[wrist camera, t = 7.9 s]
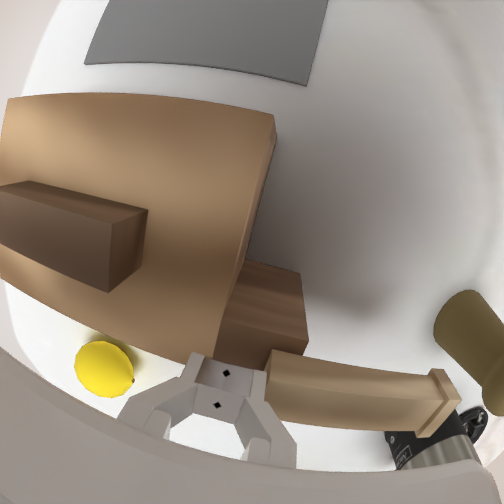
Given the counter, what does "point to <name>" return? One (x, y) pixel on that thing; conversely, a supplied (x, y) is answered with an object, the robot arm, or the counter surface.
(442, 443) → the milk frother
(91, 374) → the lemon
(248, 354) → the brown wooden box
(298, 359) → the light wooden bar
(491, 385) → the olive chess pawn
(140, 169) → the lid
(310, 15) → the mat
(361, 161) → the counter surface
